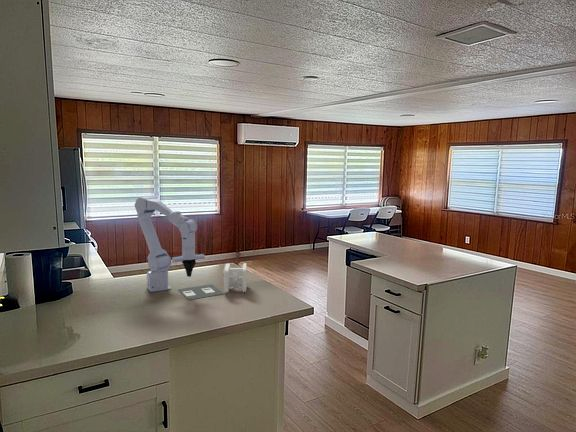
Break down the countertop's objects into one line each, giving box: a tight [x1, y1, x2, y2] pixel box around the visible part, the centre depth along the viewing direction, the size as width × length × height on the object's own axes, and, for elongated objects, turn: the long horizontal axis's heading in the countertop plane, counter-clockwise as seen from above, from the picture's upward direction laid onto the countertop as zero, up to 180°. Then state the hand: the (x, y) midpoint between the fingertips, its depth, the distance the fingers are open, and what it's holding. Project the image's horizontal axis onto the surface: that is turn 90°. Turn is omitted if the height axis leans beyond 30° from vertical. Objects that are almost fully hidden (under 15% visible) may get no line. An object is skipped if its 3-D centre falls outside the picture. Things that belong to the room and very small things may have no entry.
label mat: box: [177, 283, 225, 301], centre depth 184 cm, size 17×16×1 cm
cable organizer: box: [222, 262, 248, 294], centre depth 187 cm, size 15×11×12 cm
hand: (188, 276), depth 180 cm, fingers closed
